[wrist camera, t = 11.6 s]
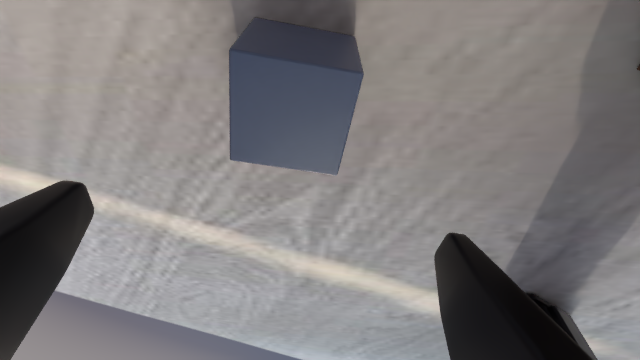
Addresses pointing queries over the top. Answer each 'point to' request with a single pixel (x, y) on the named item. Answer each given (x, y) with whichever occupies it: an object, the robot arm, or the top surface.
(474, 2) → the top surface
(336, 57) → the block
